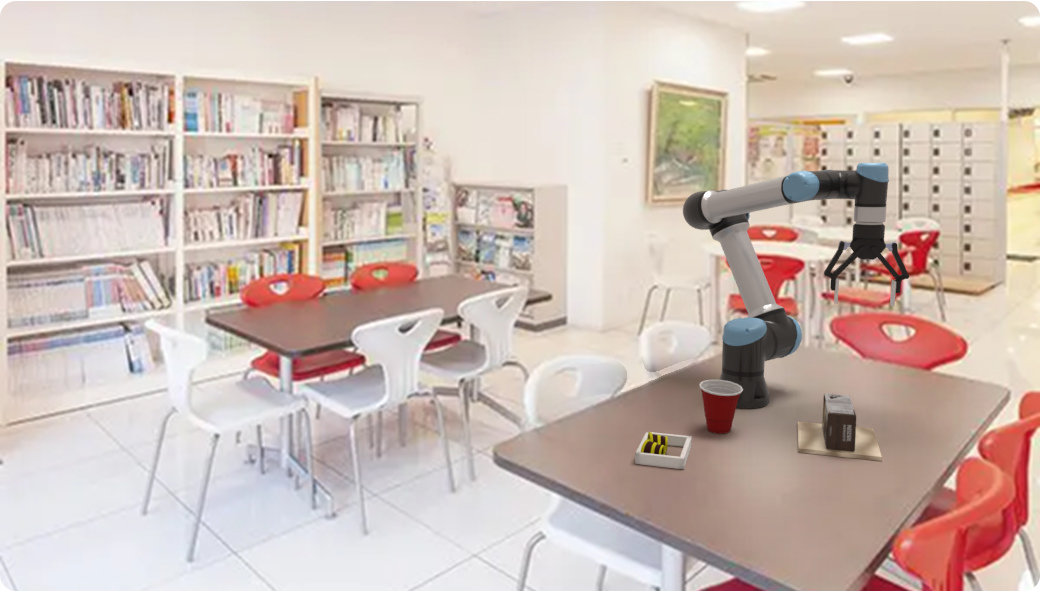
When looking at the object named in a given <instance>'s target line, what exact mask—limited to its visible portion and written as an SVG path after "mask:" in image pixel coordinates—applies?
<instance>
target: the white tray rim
mask: <svg viewBox="0 0 1040 591" xmlns="http://www.w3.org/2000/svg"><path fill="white" fill-rule="evenodd" d="M649 432H650V431H646V432H645V434H644V435H643V437H642V439H641V442H640V444H639V445H638V446H637V447H638V448H637V449H636V451H635V454H634V458H635V459H634V464H635V465H642V466H643V465H644V466H651V467H660V468H669V469H677V470H685V467H686V463H687V460H688V458H689V455H690V452H691V449H692V444H693V443H692V442H693V441H692V440H693V439H692V438H693V436H691V435H682V434H672V433H661V432H652V431H651V432H652V434H655V435H657V434H659V435H661V436H664V437H665V436H668V446H672V447H680V448H681V447H682V449H681V450H682V451H681V452H680V455H679V456H676V455H666V454H665V455H660V454H651V453H642V452H641V447H642V445H643V443H644V441H645V440H647V437H648V433H649Z"/></svg>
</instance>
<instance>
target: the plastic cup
mask: <svg viewBox="0 0 1040 591" xmlns="http://www.w3.org/2000/svg"><path fill="white" fill-rule="evenodd" d="M699 388H700V390H701V395H702V401H703V402H702V403H703V409H704V416H705V423H706V427H707V428H706V429H707V431H709V432H711V433H714V434H728V433H730V432H731V429H732V425H733V421H734V418H735V414H736V410H737V408H736V406H737V401H738V399H739V396H740V394H741V392H742V391H743V388H742V387H741V386H740V385H738V384H736V383H733V382H730V381H725V380H719V379H707V380H702V381H701V382H699Z"/></svg>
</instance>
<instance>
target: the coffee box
mask: <svg viewBox="0 0 1040 591" xmlns="http://www.w3.org/2000/svg"><path fill="white" fill-rule="evenodd" d="M822 400H823V401H822V403H823V404H822V417H821V419H822V420H821V424H822V429H823V434H824V440H825V444H826V449H833V450H843V451H855V436H856V427H857V414H856V410H855V409H854V405H853V402H852V399H851V395H848V394H837V393H824V394H823V399H822Z"/></svg>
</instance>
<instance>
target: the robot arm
mask: <svg viewBox="0 0 1040 591" xmlns="http://www.w3.org/2000/svg"><path fill="white" fill-rule="evenodd" d="M889 182H890V180H889V165H888V164H887V162H859V163H857V166H856V168H855V170H844V169H843V170H842V169H836V170H835V169H824V170H823V169H822V170H799V171H794V172H792V173H790V174H788V175H784V176H781V177H776V178H773V179H768V180H764V181H758V182H755V183H752V184H747V185H742V186H739V187H735V188H731V189H730V188H729V189H721V190H707V191H706V190H702V191H696V192H694V193H692V194H690V195H689V196H688V197H687V199H685V201H684V204H683V206H682V215H683V218H684V220H685V222H686V224H687V225H688V226H690V227H691V228H694V229H696V230H701V231H705V230H709V232H710V235H711V237H712V239H713V240H714V241H717V242H718V243H719V244H720V246H721V249H722V252H723V254H724V257H725V259H726V261H727V264H728V266H729V269H730V271H731V274H732V276H733V279H734V281H735V284H736V287H737V289H738V292H739V294H740V297H741V299H742V301H743V304H744V307H745V309H746V312H747V313H748V315H747V316H746V317H739V318H734V319H731V320H728V321H727V322H726V323H725V324H724V325H723V332H722V349H721V350H722V352H721V353H722V355H721V356H722V357H721V358H722V359H721V374H720V377H719V379H718V380H725V381H730V382H733V383H736V384H738V385H740V386H741V387H742V388H743V391H742V392H741V394H740V396H739V399H738V401H737V406H736V409H758V408H763V407H766V406H768V405H769V404H770V392H769V389H768V386H767V382H766V379H765V362H767V361H770V360H776V359H783V358H785V357H787V356H790V355H792V354H794V353H795V352H796V351H797V350H798V349H799V347H800V345H801V343H802V338H803V333H802V328H801V325H800V324H799V322H798V320H796V319H795V318H793V317H791V316H789V315H788V314H787V312H786V310H785V307H784V306H782V305H779V304H778V303H776V300H775V296H774V295H773V292H772V290H771V288H770V285H769V283H768V280H767V278H766V275H765V273H764V270H763V268H762V265H761V263H760V260H759V257H758V256H757V253H756V250H755V247H754V246H753V244H752V240H751V239H750V238H751V237H750V236H749V233H748V230H749V228H750V222H749V220H750V217H751V215H750V213H754V212H759V211H763V210H768V209H772V208H778V207H783V206H787V205H792V204H793V205H794V204H799V203H803V202H809V201H810V202H811V201H819V200H822V201H823V200H854V206H853V207H854V209H853V210H854V211H853V222H855V223H854V224H853V225H852V239H851V241H850V242H849V241H848V242H847V241H843V240H840V241H839V243H838V248H837V250H836V251H835V253H834V255H833V256H832V258H831V259H830V261H829V263H828V264H827V267H826V268H825V270H824V271H823V275H824V276H825V277H828V278H830V287H829V288H830V291H833V292H834V294H833V295H834V296H833V303H834V304H835V305H837V304H839V303H838V302H839V286H840V278H839V277H838V276H839V275H841V274H842V272H844V271H845V270H846V269H847V268H848V267H849V266H850V265H851V263H853V262H854V261H855V260H856V259H857V258H858V259H860V260H876V259H878V260H879V262H881V263H882V265H883V266H884V267H885V268H886V270H887V271H888V272H889V273H890V275H891V276H892V277H893V278H894V279H891V284H890V285H891V288H890V299H889V305H890V307H895V304H896V303H895V301H896V294H900V293H901V287H902V286H901V284H902V281H905V280H908V279H910V275H909V273H908V270H907V268H906V266H905V263H904V262H903V259H902V257H901V256H900V253H899V251H898V249H899V248H898V243H897V242H896V241H893V242H888V243H887V242H886V243H885V232H886V230H885V229H886V225H885V222H886V217H887V199H888V198H887V197H888V187H889ZM848 248H850V250H852V253H850V254H849V256H848V257H847V258H846V259H844V261H843V262H842V263H841V264H840V265H839V266H838V267H836V269H835V270H834V271H833V269H834V268H835V266H836V264H837V262H838V261H839V259H840V257H841V256H842V255H843V253H844V251H846V250H848ZM886 248H887V249H888V251H889V252H891V254H892V256H893V258H894V260H895V263H896V264H897V266H898V269H899V271H900V273H901V274H898V272H897V271H896V270H895V269H894V268H893V266H892V265H891V264H890V263H889V261H887V259H886V258H885V257H884V255H883V254H882V253H883V251H884V250H885V249H886Z"/></svg>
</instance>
